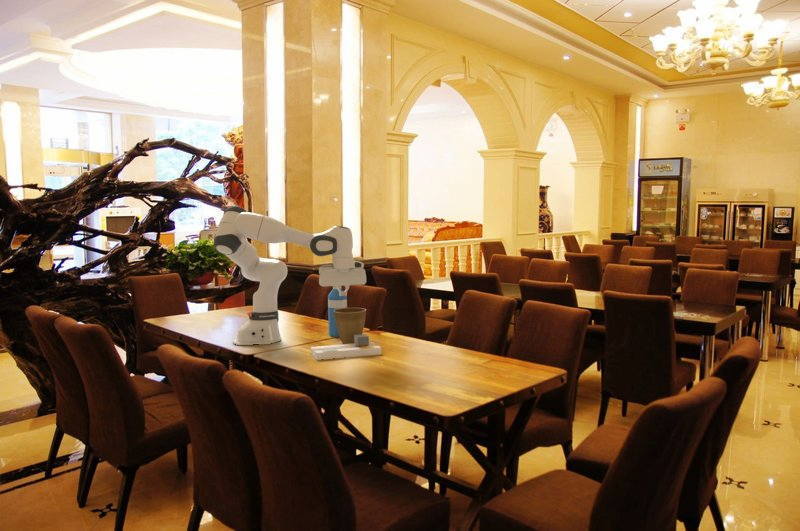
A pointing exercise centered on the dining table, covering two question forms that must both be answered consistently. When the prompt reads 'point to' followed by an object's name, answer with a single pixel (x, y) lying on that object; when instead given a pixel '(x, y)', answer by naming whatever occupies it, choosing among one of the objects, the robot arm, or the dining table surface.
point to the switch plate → (344, 351)
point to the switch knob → (361, 340)
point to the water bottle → (333, 304)
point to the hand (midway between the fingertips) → (343, 295)
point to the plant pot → (349, 323)
